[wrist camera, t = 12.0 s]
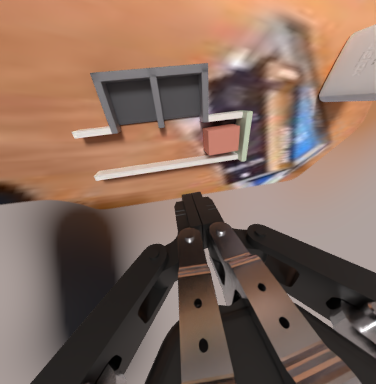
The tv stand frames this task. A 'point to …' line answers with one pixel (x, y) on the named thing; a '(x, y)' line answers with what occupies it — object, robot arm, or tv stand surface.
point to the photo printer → (353, 70)
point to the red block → (221, 139)
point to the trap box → (160, 109)
